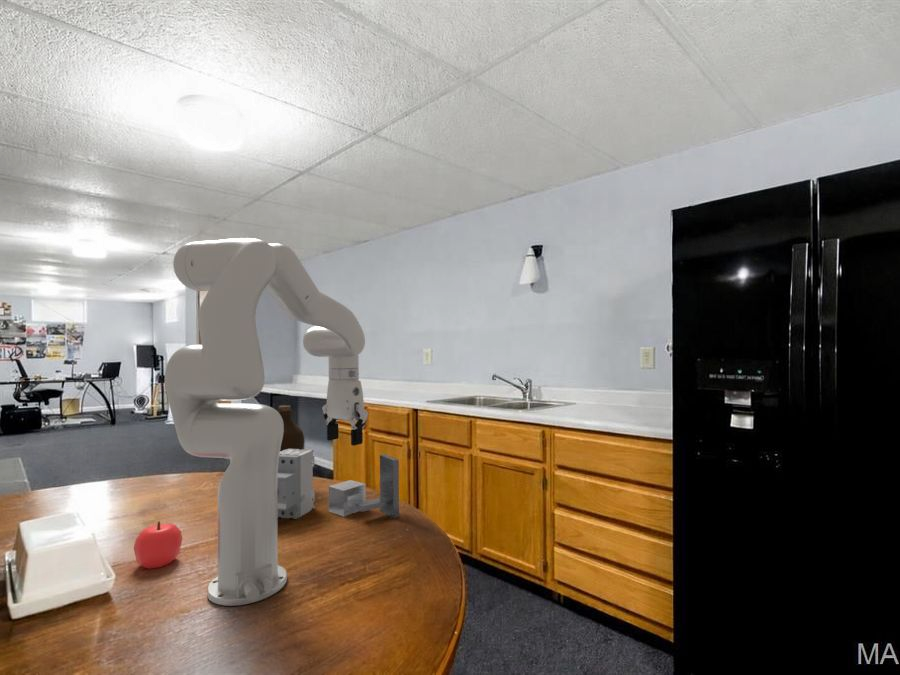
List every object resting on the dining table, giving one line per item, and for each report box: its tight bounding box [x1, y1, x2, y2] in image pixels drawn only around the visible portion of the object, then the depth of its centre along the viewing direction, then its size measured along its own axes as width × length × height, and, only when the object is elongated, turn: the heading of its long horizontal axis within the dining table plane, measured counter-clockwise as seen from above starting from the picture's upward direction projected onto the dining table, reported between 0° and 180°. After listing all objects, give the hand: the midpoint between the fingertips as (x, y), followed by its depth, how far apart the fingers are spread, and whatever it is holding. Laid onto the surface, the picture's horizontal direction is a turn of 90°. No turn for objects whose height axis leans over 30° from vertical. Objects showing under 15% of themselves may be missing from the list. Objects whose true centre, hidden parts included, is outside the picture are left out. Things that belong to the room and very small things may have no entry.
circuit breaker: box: [277, 448, 316, 520], centre depth 112 cm, size 8×14×15 cm, turn 166°
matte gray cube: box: [328, 479, 367, 518], centre depth 116 cm, size 7×6×6 cm
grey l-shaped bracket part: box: [356, 454, 400, 519], centre depth 111 cm, size 7×9×14 cm
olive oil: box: [277, 404, 305, 452], centre depth 130 cm, size 11×11×25 cm
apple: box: [133, 520, 183, 570], centre depth 88 cm, size 8×8×8 cm
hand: (344, 441), depth 117 cm, fingers open, 9 cm apart
